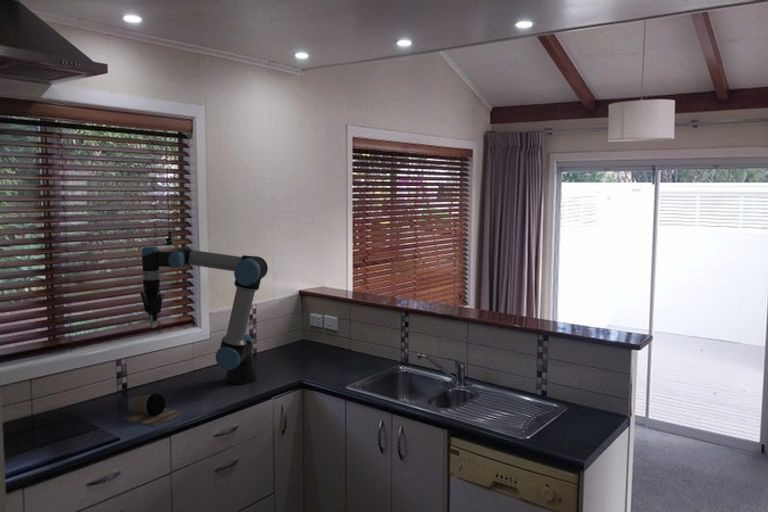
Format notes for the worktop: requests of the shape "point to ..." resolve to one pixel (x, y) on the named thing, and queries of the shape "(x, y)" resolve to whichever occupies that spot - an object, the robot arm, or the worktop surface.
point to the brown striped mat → (153, 417)
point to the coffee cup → (147, 404)
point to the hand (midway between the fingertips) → (153, 327)
